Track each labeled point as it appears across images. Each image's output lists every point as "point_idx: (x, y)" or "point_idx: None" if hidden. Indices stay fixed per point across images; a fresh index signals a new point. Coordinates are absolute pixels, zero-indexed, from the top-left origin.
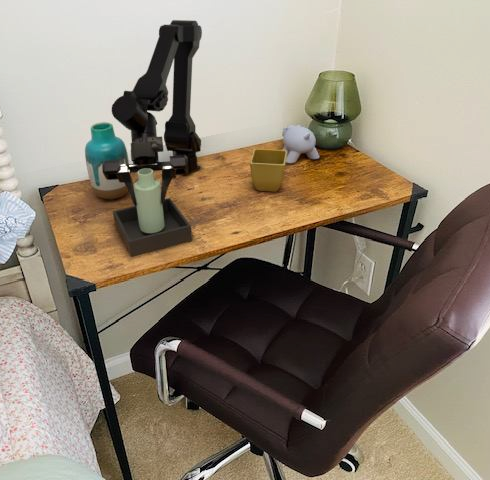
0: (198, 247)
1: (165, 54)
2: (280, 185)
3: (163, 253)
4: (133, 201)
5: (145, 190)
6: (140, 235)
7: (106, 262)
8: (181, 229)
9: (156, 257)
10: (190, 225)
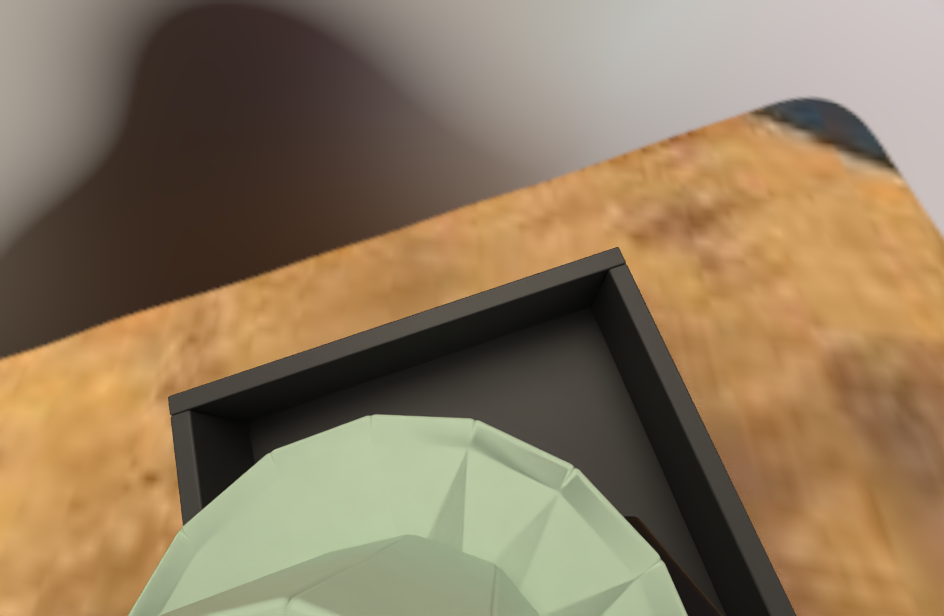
0: (217, 342)
1: None
2: None
3: (414, 308)
4: (652, 544)
5: (431, 418)
6: None
7: (731, 260)
8: (246, 372)
9: (454, 277)
10: (169, 402)
